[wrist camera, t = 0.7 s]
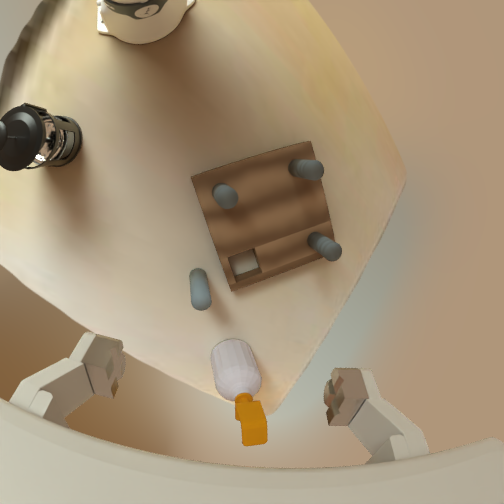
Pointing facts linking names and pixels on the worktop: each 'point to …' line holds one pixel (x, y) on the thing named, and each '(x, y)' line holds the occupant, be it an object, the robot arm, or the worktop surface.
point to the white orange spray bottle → (240, 387)
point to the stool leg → (199, 290)
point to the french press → (36, 138)
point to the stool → (268, 212)
